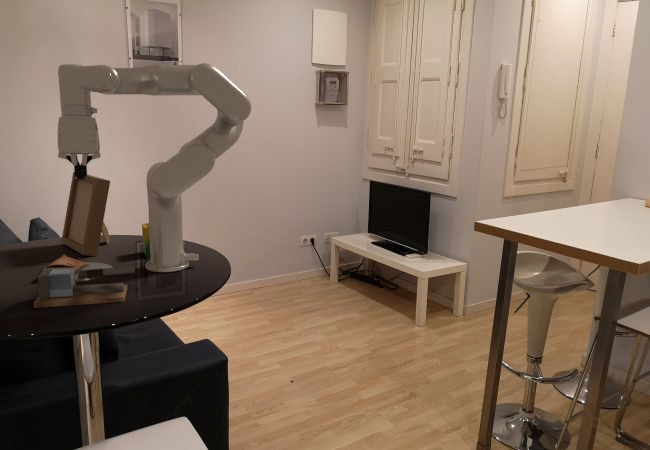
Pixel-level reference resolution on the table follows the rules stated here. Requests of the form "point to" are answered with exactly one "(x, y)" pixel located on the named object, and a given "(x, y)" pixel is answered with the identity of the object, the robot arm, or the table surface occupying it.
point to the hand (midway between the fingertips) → (81, 179)
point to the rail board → (87, 295)
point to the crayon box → (146, 239)
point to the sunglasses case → (67, 264)
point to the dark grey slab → (44, 284)
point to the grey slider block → (61, 282)
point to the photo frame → (86, 215)
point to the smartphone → (106, 272)
